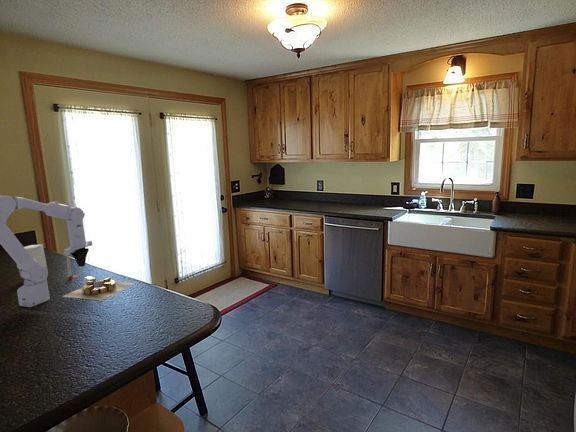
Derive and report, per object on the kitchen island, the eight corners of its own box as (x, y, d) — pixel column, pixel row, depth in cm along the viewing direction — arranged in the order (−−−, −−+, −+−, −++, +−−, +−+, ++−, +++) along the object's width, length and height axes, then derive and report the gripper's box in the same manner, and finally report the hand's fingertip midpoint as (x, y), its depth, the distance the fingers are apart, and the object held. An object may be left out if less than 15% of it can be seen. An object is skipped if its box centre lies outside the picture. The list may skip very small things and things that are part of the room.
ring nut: (99, 296, 140) (98, 287, 140) (67, 293, 145) (66, 285, 145) (121, 284, 152) (120, 277, 151) (91, 282, 157) (90, 275, 156)
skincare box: (36, 280, 167) (31, 248, 164) (23, 280, 167) (17, 249, 165) (49, 274, 176) (43, 243, 173) (36, 274, 176) (30, 244, 173)
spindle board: (102, 303, 137) (101, 291, 136) (62, 299, 143) (60, 288, 142) (135, 285, 154) (134, 275, 153) (98, 282, 160) (97, 273, 159)
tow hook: (84, 275, 173) (64, 280, 165) (82, 249, 171) (61, 253, 163) (93, 278, 168) (72, 283, 160) (91, 251, 166) (70, 256, 158)
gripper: (73, 239, 142) (78, 271, 145) (96, 231, 157) (101, 260, 159) (57, 239, 143) (62, 271, 146) (82, 231, 157) (86, 260, 160)
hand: (81, 266), depth 152 cm, fingers closed
